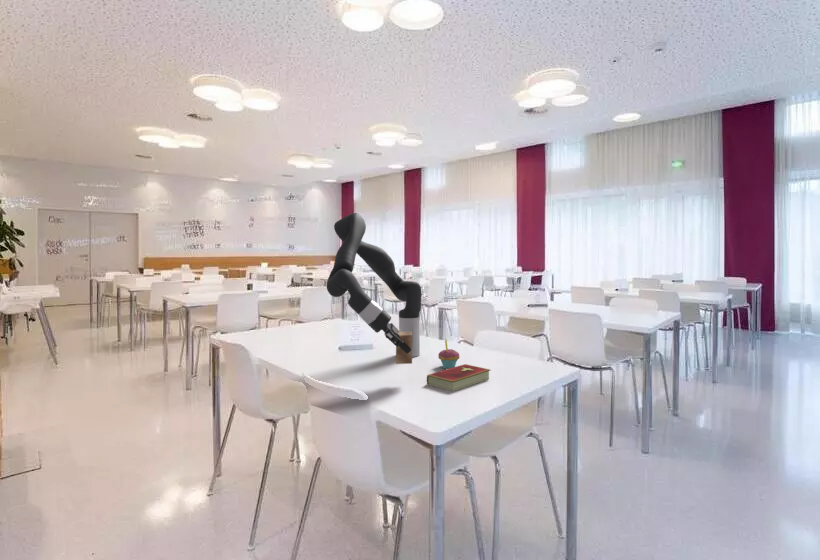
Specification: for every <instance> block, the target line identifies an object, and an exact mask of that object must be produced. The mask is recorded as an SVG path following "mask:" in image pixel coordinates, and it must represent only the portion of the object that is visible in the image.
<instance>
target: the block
mask: <svg viewBox="0 0 820 560" xmlns="http://www.w3.org/2000/svg"><path fill="white" fill-rule="evenodd" d="M398 334H399V335H400V338H401V339H402V340H403V341H404V342H405V343H406V344H407V345H408V346H409V347H410V348H411V351H410V352H409V353H408V354H406V353H405V352H404V351H403V350H402V349H401V348H400V347H396V346H395V364H398V365H399V364H402V365H404V364H405V365H406V364H408V365H409V364H413V357H412V332H398ZM396 336H397V335H396ZM396 342H398V340H396Z"/></svg>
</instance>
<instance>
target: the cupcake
mask: <svg viewBox="0 0 820 560" xmlns="http://www.w3.org/2000/svg"><path fill="white" fill-rule="evenodd" d="M444 343H445V349H443V350H440V351H439V353H438V359H439V360H440V361H441V365H442V367H443V368H444V369H450V368H453V367H456V365H457V362H458V360H459V359H460V354H459V352H458V351H456V350H455V349H450V348H449V349H448V339H446V338H445V340H444Z"/></svg>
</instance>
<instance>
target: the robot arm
mask: <svg viewBox="0 0 820 560" xmlns="http://www.w3.org/2000/svg"><path fill="white" fill-rule="evenodd" d="M366 228H367V226H366V221H365V219H364V218H363V216H362V215H360V213H357V212H353V213H350V214H348V215H346V216H344V217H342V218H341V219H339V220H337V221H336V222H335V223H334V225H333V229H334V232H335V234H336V235H337V237H338V238H339V239H340V240H341V241H342V244H341V245H340V246H339V248H338V250H337V252H336V254H335V259H334V264H333V268H332V269H331V272H330V273H329V276H328V279H327V280H326V289H327V292H328V294H329V295H330V296H331V297H334V298H339V297H342V296H343V295H345V293H346V292H348V293H349V295H350V297H349V299H348V301H347V304H348V306H349V307H350V308H351V309H352V310H353V311H354V312H355V313H356V314H357V315H358V316H359V317H360V318H361V319H362V321H363V322H365V323H366V325H367V326H368V327H370V328H371V329H372V330H373V331H374V332H375V333H377V334H378V333H379V332H380V331H383V333H384V336H385V338H386V339H388V340H389V341H390V342H391V343H392V344H393V345H394V346H395V348H396V347H400V348H401V349H402V350H403V351H404V352H405V353H406V354H408V353H409V352H410V351H411V348H410V347H409V346H408V345H407V344H406V343H405V342H404V341H403V340H402V339H401V338H400V335H399V334H398V332H412V358H413V357H419V356H420V354H421V352H420V350H421V349H420V347H421V346H420V336H421V335H420V313H421V310H422V296H423V295H422V293H423V292H422V287H421V284H420V283H418V282H417V281H413V280H404V279H402V278H401V277H400V275H399V274H398V273H397V272H396V268H395V263H394V260H393V258H391V256H390V255H389V254H388V252H386V251H385V250H384V249H383V248H381V247H379V246H377V245H374V244H370V243H367V242H365V241H363V238H364V235H365V233H366V230H367V229H366ZM357 255H358V256H359V257H360V258H361V259H362V260H363V262H365V263H366V265H368V267H369V268H370V269H371V270H372V271H373V272H374V273H375V274H376V276H378V277H379V279H381V280H382V282H384V284H386V285H387V287H388V289H390V291H391V292H392V294H393V295H394V296H395V298H396V299H397V300H398V301H401V302H405V307H404V308H403V309H400V310H399V312H398V328H397V327H396V326H395V325H394V323H392V322H391V323H390V321H391V320H392V316H391V315H390V314H389V313H388V312H387V311H386V310H384V308H383V307H382V306H381V305H380V304H378V302H376V301H374V300H373V299H372V298H371V296H369V294H367V293H366V292H365V291H364V289H363V287H362V286H361V284H360V283H359V281H358V279H357V277H356V276H355V275H354V274H353V271H354V267H355V261H356V256H357ZM396 335H397V336H396ZM396 340H398V342H396Z"/></svg>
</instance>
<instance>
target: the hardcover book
mask: <svg viewBox="0 0 820 560" xmlns="http://www.w3.org/2000/svg"><path fill="white" fill-rule="evenodd" d="M490 371H491V368H490V369H489V368H485V367H481V366H480V367H479V366H476V365H471V364H466V363H464V364H461V365H457V366H455V367H453V368H445V369H444V370H441V371H435V372H433V373H429V374H427V375H426V385H427V384H429V385H428V386H432V385H433V387H436V386H437V387H436V388H439V387H440V388H441V389H443V390H448V391H451V392H455V391H457V390H461V389H464V388H467V387H470V386H472V385H475V384H478V383H481V382H483V381H487V380H489V379H490Z"/></svg>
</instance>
